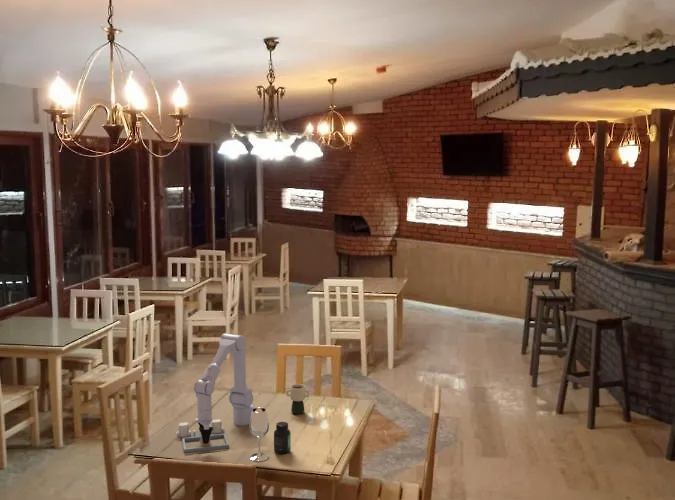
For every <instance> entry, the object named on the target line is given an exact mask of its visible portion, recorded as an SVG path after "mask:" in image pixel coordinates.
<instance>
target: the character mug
mask: <svg viewBox="0 0 675 500" xmlns="http://www.w3.org/2000/svg"><path fill="white" fill-rule="evenodd" d="M289 388H290V389H286V391H285V393H286V397H290V400H291V401H292V403H291V408H290V409H291V410H290V411H291V413H292V414H295V415H299V414H300V415H301V414H303V413H304V412H305V404H304V401H305V400H306V397H307V398H309V397H310V390H309V389H306V385H305V384H302V383H295V384H292V385H290V387H289Z"/></svg>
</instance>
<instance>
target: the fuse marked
mask: <svg viewBox="0 0 675 500" xmlns="http://www.w3.org/2000/svg"><path fill="white" fill-rule="evenodd" d="M199 445H200V446H199V447H205V446H211V439H210V440H209V443H208V444H204V443H203V439H202V435H201V434H200V440H199Z"/></svg>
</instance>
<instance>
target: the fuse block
mask: <svg viewBox="0 0 675 500" xmlns="http://www.w3.org/2000/svg"><path fill="white" fill-rule="evenodd" d="M200 434H201V432H200V431H199V430H195V429H193V431H191V430H190V429H189V436H186V437H179V430H178V431H176V433H175V434H174V435H175V436H174V437H175V440H179V439H182V438H187V437H197V436H200ZM216 434H226V430H225V428H224V426H222V433H215V434H212V432H211V435H216ZM226 435H227V434H226Z"/></svg>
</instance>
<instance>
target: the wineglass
mask: <svg viewBox="0 0 675 500" xmlns="http://www.w3.org/2000/svg"><path fill="white" fill-rule="evenodd" d="M248 425H249V427H248V428H249V432H250V434H251V435H252V436H253V437H254V438H257V441H258V442H257V443H258V452H257V453H252V454H251V455H250V456H249V459H250V460H251V461H252V462H264V461H267V460H269V458H270V456H269V454H267V453H264V452H261V439H262V438H263V437H264V436H266V435H267V434H268V432H269V430H270V423H269V417H268V412H267V408H264V407H260V406H259V407H254V409H252V413H251V418H250V424H248Z"/></svg>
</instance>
